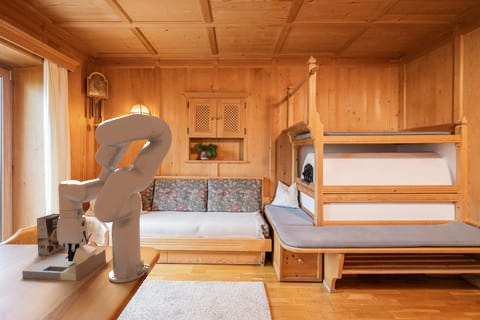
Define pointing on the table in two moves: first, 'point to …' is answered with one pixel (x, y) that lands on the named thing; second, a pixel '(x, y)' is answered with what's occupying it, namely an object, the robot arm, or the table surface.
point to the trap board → (64, 267)
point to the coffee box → (48, 234)
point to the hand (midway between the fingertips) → (73, 259)
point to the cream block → (84, 253)
